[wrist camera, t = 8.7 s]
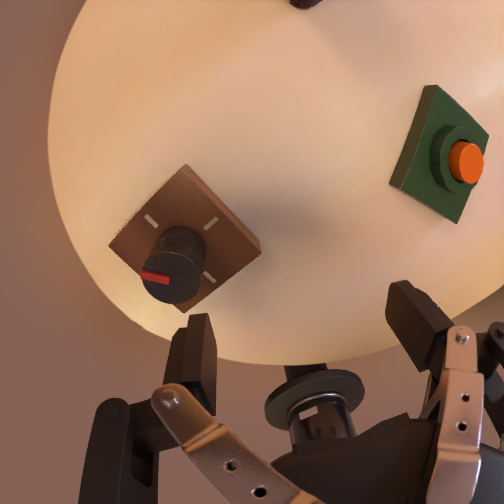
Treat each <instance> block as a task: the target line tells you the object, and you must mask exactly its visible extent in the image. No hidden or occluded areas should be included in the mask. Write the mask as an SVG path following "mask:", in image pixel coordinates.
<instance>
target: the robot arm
mask: <svg viewBox="0 0 504 504" xmlns="http://www.w3.org/2000/svg"><path fill="white" fill-rule="evenodd" d="M385 316H386V320H387V323H388V324H389V326H390V327H391V329H392V330H393V332H394V333H395V335H396V336H397V338H398V339H399V341H400V342H401V344H402V346H403V347H404V348H405V350H406V352H407V353H408V355H409V356H410V358H411V360H412V361H413V363H414V364H415V366H416V368H417V369H418V371H419V372H423V371H425V370H428V369H429V370H430V372H431V373H430V375H429V377H428V383H427V388H426V393H425V398H424V403H423V407H422V411H421V414H420V416H419V418H418V419H410V418H409V416H408V414H407V412H406V413H404V414H401V415H398V416H395V417H393V418H390V419H387V420H384V421H381V422H380V423H378V424H377V425H375V426H373V427H372V428H370V429H368V430H367V431H365V432H363V433H361V434H360V435H358V436H357V433H356V431H355V428H354V424H353V422H352V419H351V416H350V413H349V410H348V407H347V404H346V400H345V397H344V396H343V395H342V394H341V393H338V392H334V391H325V392H318V393H314V394H311V395H308V396H306V397H303V398H301V399H299V400H298V401H296V402H295V403H293V404H292V405H291V406H290V408H289V409H288V411H287V416H288V420H287V422H288V428H289V433H290V439H291V444H292V451H291V452H289V453H287V454H284V455H283V456H281V457H279V458H277V459H276V460H274V461H273V462H272V463H270V464H268V463H267V462H266V461H265V460H263V459H262V458H261V457H260V456H259V455H258V454H256V453H255V452H254V451H253V450H252V449H250V447H248V446H247V445H246V444H245V443H244V442H243V441H242V440H241V439H240V438H239V437H238V436H237V435H235V434H234V433H233V432H232V431H231V430H230V429H229V428H228V427H227V426H225V425H224V424H220V423H218V422H217V421H216V420H215V419H214V418H213V417H212V416H216V374H217V345H216V340H215V336H214V333H213V329H212V326H211V322H210V319H209V315H208V313H203V314H194V315H190V316H189V319H188V325H187V327H185V328H179V329H178V330H177V332H176V333H175V334H174V335H173V337H172V341H171V348H170V351H169V356H168V360H167V365H166V370H165V375H164V380H163V385H162V386H160V387H159V388H158V389H156V390H155V391H154V393H153V394H152V397H151V398H150V399H148V400H145V401H142V402H138V403H134V404H130V405H128V404H127V402H126V401H124V400H123V399H120V398H110V399H107V400H105V401H104V402H102V403H101V404H100V405H99V407H98V408H97V411H96V414H95V418H94V422H93V426H92V430H91V434H90V439H89V443H88V448H87V453H86V458H85V463H84V468H83V475H82V480H81V486H80V494H79V501H78V504H158V465H159V452H160V451H163V450H167V449H171V448H175V447H178V446H181V448H182V449H183V451H184V452H185V453H186V454H187V455H188V457H189V458H190V459H191V460H192V462H193V463H194V464H195V465H196V466H197V467H198V469H199V470H200V471H201V472H202V473H203V474H204V475H205V476H206V478H207V479H208V480H209V481H210V482H211V483H212V484H213V485H214V486H215V487H216V488H217V489H218V490H219V491H220V492H221V493H222V494H223V495H224V496H225V498H226V499H227V500H229V501H230V502H231V503H232V504H504V382H503V380H502V378H501V377H500V376H499V374H498V372H497V371H496V369H497V367H498V365H499V364H500V363H501V365H502V367H503V368H504V323H502V322H494V323H492V324H491V325H490V327H489V329H488V331H487V332H486V333H476V334H475V333H474V332H473V331H472V330H471V329H470V328H468V327H467V326H463V325H454V324H453V322H452V321H451V320H450V319H449V318H448V317H447V316H446V314H445V313H444V312H443V311H442V310H441V309H440V308H439V307H437V304H436V303H435V302H434V301H432V299H431V298H430V297H429V296H428V295H427V294H426V293H425V292H423V291H421V290H420V289H418V288H414V287H413V286H412V284H411V283H410V282H409V281H408V280H402V281H398V282H393V283H391V284H390V286H389V292H388V298H387V304H386V309H385ZM483 407H484V408H485V409H486V411H487V413H488V415H489V417H490V419H491V421H492V423H493V425H494V427H495V429H496V431H497V433H498V435H499V437H500V439H501V440H500V447H499V448H498V449H495V448H493V447H490V446H488V445H486V444H483V443H481V442H480V439H481V431H482V421H483Z"/></svg>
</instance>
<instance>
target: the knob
mask: <svg viewBox="0 0 504 504" xmlns="http://www.w3.org/2000/svg"><path fill="white" fill-rule="evenodd" d="M205 256H206V246H205V243H204V241H203V239H202V237H201V236H200V235H199V234H198V233H197V232H195V231H194V230H192V229H190V228H188V227H183V226H176V227H172V228H169V229H167V230H166V231H164V232H163V233H162V234H161V236H160V237H159V239H158V240H157V242H156V244H155V245H154V247H153V249H152V251H151V252H150V254H149V256H148V258H147V259H146V261H145V263H144V265H143V268H142V271H141V279H142V281H143V284H144V286H145V288H146V290H147V291H148V292H149V293H150V294H151V295H152V296H153V297H154V298H156V299H157V300H159V301H161V302H164V303H168V304H181V303H185V302H187V301H189V300H191V299H192V298H193V297H194V296H195V295H196V294H197V292H198V291H199V289H200V285H201V279H202V273H203V267H204V261H205Z"/></svg>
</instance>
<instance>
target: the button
mask: <svg viewBox="0 0 504 504" xmlns="http://www.w3.org/2000/svg"><path fill="white" fill-rule="evenodd" d="M449 168H450V171H451V173H452V175H453V176H454V177H455V178H456V179H458V180H461V181H463V182H466V183H468V184H473V183H475V182H477V181H478V179H479V178H480V176H481V174H482V171H483V156H482V153H481V151H480V149H479V148H478V146H476V145H475V144H472V143H468V142H463V141H459V142H456V143H455V144H454V145H453V146H452V148H451V150H450V153H449Z"/></svg>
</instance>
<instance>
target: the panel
mask: <svg viewBox="0 0 504 504" xmlns="http://www.w3.org/2000/svg"><path fill="white" fill-rule="evenodd" d="M176 226H183V227H188V228H190V229H192V230H194V231H195V232H197V233H198V234H199V235H200V236H201V237H202V239H203V241H204V243H205V246H206V256H205V261H204V267H203V273H202V279H201V285H200V289H199V291H198V292H197V294H196V295H195V296H194V297H193V298H192V299H191V300H189V301H187V302H185V303H181V304H173V305H174V306H175V307H176V308H178V309H179V310H180V311H181V312H182V313H186V312H187V311H188V310H190V309H191V308H192V307H193V306H195V305H196V304H197V303H199V302H200V301H201V300H203V299H204V298H205V297H206V296H208V295H209V294H210V293H212V292H213V291H214V290H215V289H217V288H218V287H219V286H221V285H222V284H223V283H224V282H226V281H227V280H228V279H230V278H231V277H232V276H233V275H235V274H236V273H237V272H239V271H240V270H241V269H242V268H244V267H245V266H246V265H248V264H249V263H250V262H251V261H253V260H254V259H255V258H256V257H258V256H259V255H260V254H261V253H262V252H261V248H260V244H259V241H258V240H257V239H256V238H255V237H254V236H253V235H252V234H251V233H250V232H249V231H248V229H247V228H246V227H245V226H244V225H243V224H242V223H241V222H240V221H239V220H238V219H237V218H236V217H235V215H234V214H233V213H232V212H231V211H230V210H229V209H228V208H227V207H226V206H225V205H224V204H223V203H222V202H221V200H220V199H219V198H218V197H217V196H216V195H215V194H214V193H213V192H212V191H211V190H210V189H209V188H208V187H207V186H206V185H205V183H204V182H203V181H202V180H201V179H200V178H199V177H198V176H197V175H196V174H195V173H194V172H193V171H192V170H191V169H190V168H189V167H188V165H185V166H183V167H182V168H181V169H180V170H179V171H178V172H177V173H176V174H175V175H174V176H173V177H172V178H171V179H170V180H169V181H168V182H167V183H166V184H165V185H164V186H163V187H162V188H161V189H160V190H159V191H158V192H157V193H156V194H155V195H154V196H153V197H152V198H151V199H150V200H149V201H148V202H147V203H146V204H145V205H144V206H143V207H142V208H141V209H140V210H139V211H138V213H137V214H136V215H135V216H134V217H133V218H132V219H131V220H130V221H129V222H128V223H127V225H126V226H125V227H124V228H123V229H122V230H121V231H120V232H119V234H118V235H117V236H116V237H115V238H114V239H113V241H112V242H111V243H110V244H109V247H110V248H111V249H112V250H113V251H114V252H115V253H116V254H117V255H118V256H119V257H120V258H121V259H122V260H123V261H124V262H125V263H127V264H128V265H129V266H130V267H131V268H132V269H133V270H134V271H135V272H136V273H137V274H138V275H140V276H141V271H142V268H143V265H144V263H145V261H146V259H147V258H148V256H149V254H150V252H151V251H152V249H153V247H154V245H155V244H156V242H157V240H158V239H159V237H160V236H161V234H162V233H163V232H164V231H166V230H167V229H169V228H172V227H176Z"/></svg>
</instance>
